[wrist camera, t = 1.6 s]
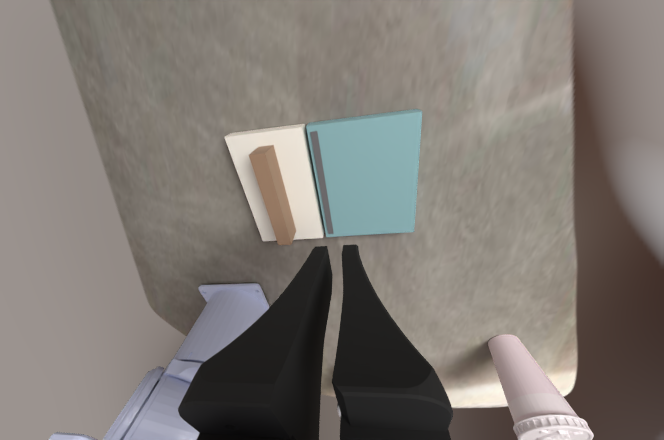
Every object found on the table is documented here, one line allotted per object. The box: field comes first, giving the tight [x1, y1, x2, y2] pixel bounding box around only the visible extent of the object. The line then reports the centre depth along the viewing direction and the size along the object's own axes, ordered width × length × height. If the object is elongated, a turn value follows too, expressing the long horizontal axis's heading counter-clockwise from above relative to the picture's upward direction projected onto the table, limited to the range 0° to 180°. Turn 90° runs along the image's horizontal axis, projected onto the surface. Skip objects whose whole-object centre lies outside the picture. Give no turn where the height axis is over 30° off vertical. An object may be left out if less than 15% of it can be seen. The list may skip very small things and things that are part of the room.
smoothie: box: [488, 334, 594, 440], centre depth 25 cm, size 6×6×14 cm
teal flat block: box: [306, 109, 422, 237], centre depth 19 cm, size 10×8×1 cm
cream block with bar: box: [224, 124, 324, 245], centre depth 20 cm, size 10×6×3 cm, turn 8°
